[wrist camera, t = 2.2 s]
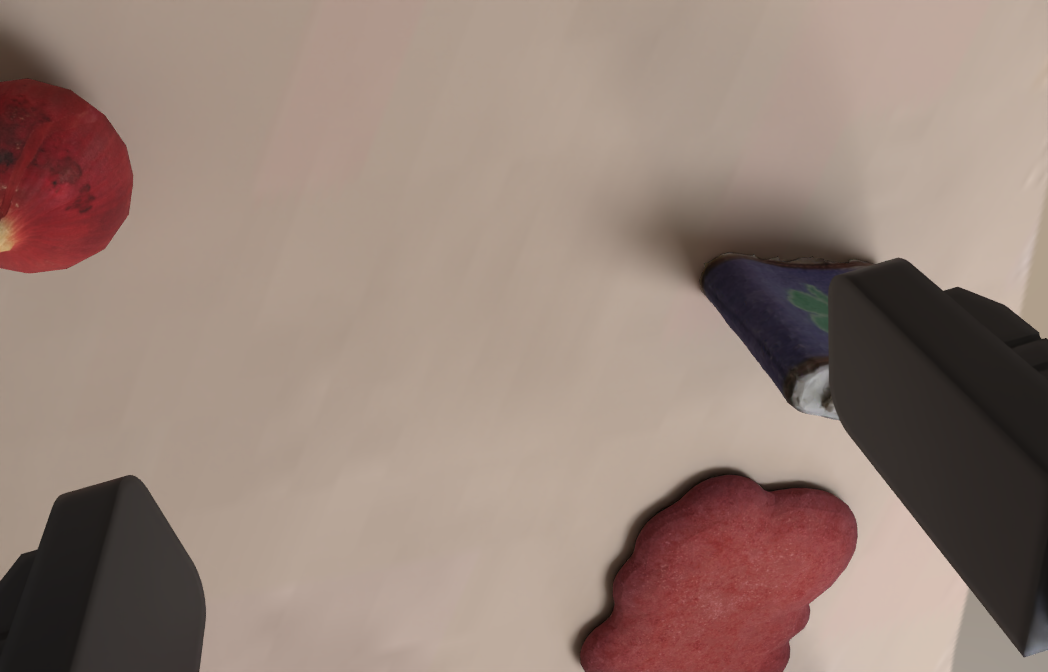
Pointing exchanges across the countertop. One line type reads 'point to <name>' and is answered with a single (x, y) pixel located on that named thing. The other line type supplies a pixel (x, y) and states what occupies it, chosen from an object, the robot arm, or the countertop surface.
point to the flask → (781, 319)
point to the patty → (723, 580)
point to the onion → (57, 178)
